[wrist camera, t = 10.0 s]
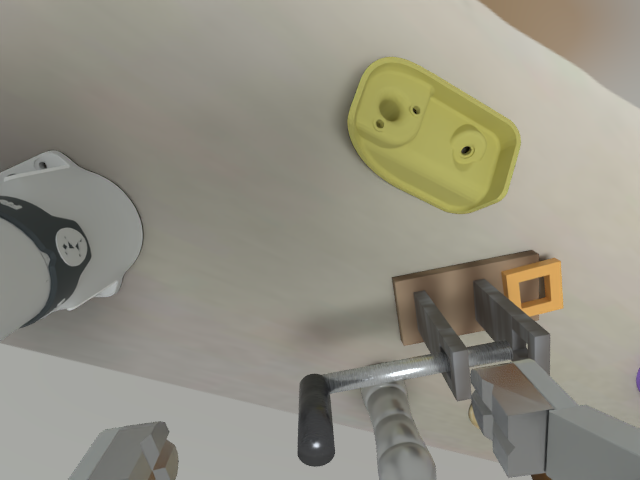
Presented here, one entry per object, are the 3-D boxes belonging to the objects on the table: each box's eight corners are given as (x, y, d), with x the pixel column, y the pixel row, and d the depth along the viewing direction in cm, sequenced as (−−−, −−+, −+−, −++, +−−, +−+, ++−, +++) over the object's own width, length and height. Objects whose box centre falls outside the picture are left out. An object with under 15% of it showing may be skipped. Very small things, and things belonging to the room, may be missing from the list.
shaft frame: (401, 339, 50) (437, 420, 36) (392, 277, 47) (427, 339, 33) (532, 314, 49) (619, 386, 35) (531, 250, 46) (627, 301, 32)
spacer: (511, 321, 46) (563, 308, 46) (506, 275, 44) (560, 261, 44) (506, 316, 47) (557, 303, 47) (501, 271, 45) (554, 257, 45)
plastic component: (525, 129, 39) (503, 208, 37) (478, 150, 46) (457, 217, 45) (376, 38, 35) (342, 125, 33) (349, 77, 42) (320, 150, 40)
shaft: (303, 393, 39) (301, 469, 30) (296, 370, 38) (293, 441, 29) (503, 356, 38) (560, 422, 29) (502, 331, 37) (561, 392, 28)
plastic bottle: (402, 359, 51) (458, 496, 32) (400, 396, 53) (453, 546, 34) (358, 361, 51) (389, 501, 32) (359, 399, 53) (388, 551, 34)
